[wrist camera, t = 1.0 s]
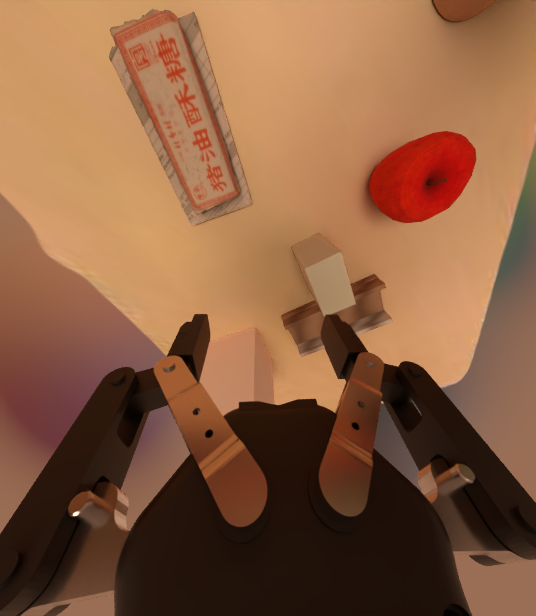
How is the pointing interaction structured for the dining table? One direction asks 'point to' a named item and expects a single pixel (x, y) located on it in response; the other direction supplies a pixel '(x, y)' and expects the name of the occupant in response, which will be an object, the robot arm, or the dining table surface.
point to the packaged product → (181, 111)
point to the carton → (324, 273)
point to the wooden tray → (359, 316)
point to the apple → (423, 176)
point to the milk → (238, 370)
